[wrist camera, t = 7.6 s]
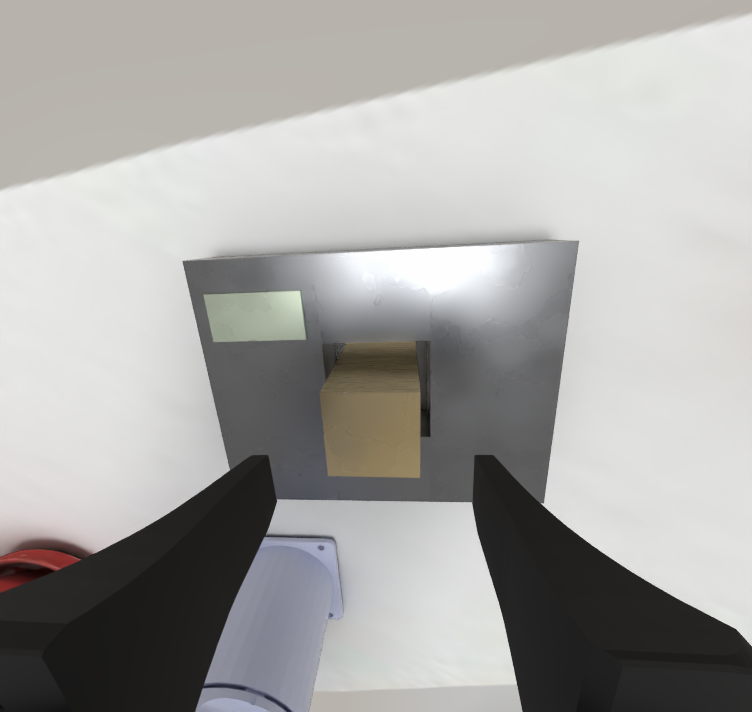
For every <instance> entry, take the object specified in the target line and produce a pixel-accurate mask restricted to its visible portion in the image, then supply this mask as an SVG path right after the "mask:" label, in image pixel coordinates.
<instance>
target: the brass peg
mask: <svg viewBox="0 0 752 712" xmlns="http://www.w3.org/2000/svg"><path fill="white" fill-rule="evenodd" d="M320 403H321V413H322V422H323V432H324V442H325V452H326V461H327V471H328V476H352V477H401V478H420V383H419V372H418V362H417V352H416V341H409V342H371V343H346V345H345V347H344V349H343V350H342V352H341V354H340V356H339V358H338V360H337V361H336V363H335V365H334V367H333V369H332V371H331V373H330V374H329V376H328V378H327V380H326V382H325V384H324V385H323V387H322V389H321V391H320Z"/></svg>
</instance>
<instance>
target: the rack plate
mask: <svg viewBox="0 0 752 712" xmlns="http://www.w3.org/2000/svg"><path fill="white" fill-rule="evenodd" d="M578 244H579V241H566V240H541V241H521V242H502V243H482V244H463V245H443V246H424V247H404V248H385V249H365V250H346V251H326V252H307V253H287V254H268V255H248V256H229V257H213V258H204V259H196V260H187V261H183V266H184V270H185V274H186V279H187V283H188V288H189V292H190V296H191V301H192V305H193V309H194V314H195V318H196V323H197V327H198V331H199V336H200V340H201V345H202V349H203V353H204V358H205V362H206V367H207V371H208V375H209V380H210V384H211V389H212V393H213V397H214V402H215V406H216V410H217V415H218V419H219V424H220V428H221V432H222V437H223V441H224V446H225V450H226V454H227V459H228V463H229V468H230V470H231V469H233V468H234V467H235V466H237V465H238V464H240V463H241V462H242V461H244V460H245V459H247V458H248V457H250V456H251V455H268V456H269V461H270V466H271V472H272V477H273V483H274V488H275V493H276V499H298V500H363V501H427V502H473V479H474V456H475V455H494V456H495V457H496V458H497V459H498V460H499V461H500V463H501V464H502V465H503V466H504V467H505V468H506V469H507V470H508V471H509V472H510V473H511V474H512V476H513V477H514V478H515V479H516V480H517V481H518V482H519V483H520V484H521V485H522V486H523V487H524V488H525V489H526V490H527V491H528V492H529V493H530V494H531V495H532V496H533V497H534V498H535V499H536V500H537V501H538V502H539V503H544V498H545V490H546V483H547V475H548V468H549V460H550V453H551V445H552V438H553V430H554V423H555V416H556V408H557V401H558V393H559V386H560V378H561V371H562V363H563V356H564V348H565V341H566V334H567V326H568V319H569V311H570V304H571V296H572V289H573V281H574V274H575V266H576V259H577V252H578ZM409 341H427V410H420V478H401V477H352V476H328V471H327V461H326V452H325V442H324V432H323V422H322V413H321V403H320V391H321V389H322V387H323V385H324V384H325V382H326V380H327V378H328V376H329V374H330V373H331V371H332V369H333V367H334V365H335V363H336V352H335V343H371V342H409Z"/></svg>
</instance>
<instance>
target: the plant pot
mask: <svg viewBox="0 0 752 712" xmlns="http://www.w3.org/2000/svg"><path fill="white" fill-rule="evenodd" d="M80 560H81V559H79V558H76V557H74V556H71V555H68V554H66V553H65V552H63V551H60V550H57V551H52V550H43V549H31V550H22V551H17V552H14V553H10V554H7V555H4V556H2V557H0V593H1V592H3V591H6V590H8V589H11V588H14V587H16V586H19V585H22V584H24V583H27V582H30V581H32V580H35V579H37V578H40V577H42V576H45V575H47V574H50V573H52V572H55V571H57V570H59V569H62V568H64V567H66V566H69V565H71V564H73V563H75V562H78V561H80Z"/></svg>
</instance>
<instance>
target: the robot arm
mask: <svg viewBox="0 0 752 712" xmlns="http://www.w3.org/2000/svg"><path fill="white" fill-rule="evenodd" d="M276 503H277V499H276V493H275V488H274V483H273V477H272V472H271V466H270V461H269V456H268V455H251V456H250V457H248V458H247V459H245V460H244V461H242V462H241V463H240V464H238V465H237V466H235V467H234V468H233V469H231V470H230V471H229V472H227V473H226V474H225V475H223V476H222V477H221V478H219V479H218V480H216V481H215V482H214V483H212V484H211V485H210V486H208V487H207V488H205V489H204V490H203V491H201V492H200V493H198V494H197V495H195V496H194V497H192V498H191V499H189V500H188V501H187V502H185V503H184V504H182V505H181V506H179V507H178V508H176V509H175V510H173V511H172V512H170V513H168V514H167V515H165V516H164V517H162V518H160V519H159V520H157V521H155V522H154V523H152V524H150V525H148V526H147V527H145V528H143V529H141V530H140V531H138V532H136V533H134V534H132V535H130V536H128V537H127V538H125V539H123V540H121V541H119V542H117V543H115V544H113V545H111V546H109V547H107V548H105V549H103V550H101V551H99V552H97V553H95V554H93V555H91V556H89V557H86V558H84V559H82V560H80V561H78V562H75V563H73V564H71V565H69V566H66V567H64V568H62V569H59V570H57V571H55V572H52V573H50V574H47V575H45V576H42V577H40V578H37V579H35V580H32V581H30V582H27V583H24V584H22V585H19V586H16V587H14V588H11V589H8V590H6V591H3V592H1V593H0V712H309V710H310V705H311V699H312V695H313V690H314V685H315V680H316V675H317V670H318V665H319V660H320V655H321V650H322V645H323V640H324V635H325V630H326V625H327V620H328V619H341V618H342V617H343V604H342V595H341V587H340V578H339V570H338V561H337V553H336V544H335V542H334V541H333V540H331V539H318V538H280V537H265V535H266V533H267V530H268V528H269V525H270V522H271V519H272V516H273V513H274V510H275V506H276ZM472 504H473V510H474V516H475V521H476V526H477V532H478V536H479V539H480V542H481V546H482V549H483V552H484V556H485V559H486V562H487V565H488V569H489V572H490V575H491V578H492V582H493V585H494V588H495V591H496V595H497V598H498V601H499V605H500V608H501V612H502V616H503V620H504V624H505V628H506V633H507V638H508V642H509V647H510V652H511V656H512V661H513V666H514V671H515V676H516V681H517V686H518V691H519V696H520V700H521V706H522V711H523V712H752V646H751V645H750V644H749V643H748V642H747V641H746V640H745V638H744V637H743V636H742V635H741V634H740V633H739V632H738V631H737V630H736V629H734V628H733V627H731V626H729V625H727V624H725V623H723V622H721V621H719V620H717V619H715V618H713V617H711V616H709V615H707V614H705V613H703V612H702V611H700V610H698V609H696V608H694V607H692V606H690V605H688V604H686V603H684V602H682V601H680V600H678V599H677V598H675V597H673V596H671V595H670V594H668V593H666V592H664V591H663V590H661V589H659V588H657V587H656V586H654V585H652V584H651V583H649V582H647V581H645V580H644V579H642V578H641V577H639V576H637V575H636V574H634V573H632V572H631V571H629V570H628V569H626V568H624V567H623V566H621V565H620V564H618V563H617V562H615V561H614V560H612V559H611V558H609V557H608V556H606V555H605V554H603V553H602V552H600V551H599V550H598V549H596V548H595V547H593V546H592V545H591V544H589V543H588V542H587V541H585V540H584V539H583V538H581V537H580V536H579V535H577V534H576V533H575V532H573V531H572V530H571V529H570V528H568V527H567V526H566V525H565V524H563V523H562V522H561V521H560V520H558V519H557V518H556V517H555V516H554V515H553V514H552V513H550V512H549V511H548V510H547V509H546V508H545V507H544V506H543V505H542V504H540V503H539V502H538V501H537V500H536V499H535V498H534V497H533V496H532V495H531V494H530V493H529V492H528V491H527V490H526V489H525V488H524V487H523V486H522V485H521V484H520V483H519V482H518V481H517V480H516V479H515V478H514V477H513V476H512V474H511V473H510V472H509V471H508V470H507V469H506V468H505V467H504V466H503V465H502V464H501V463H500V461H499V460H498V459H497V458H496V457H495V456H494V455H475V456H474V479H473V502H472ZM321 545H322V546H321Z"/></svg>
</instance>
